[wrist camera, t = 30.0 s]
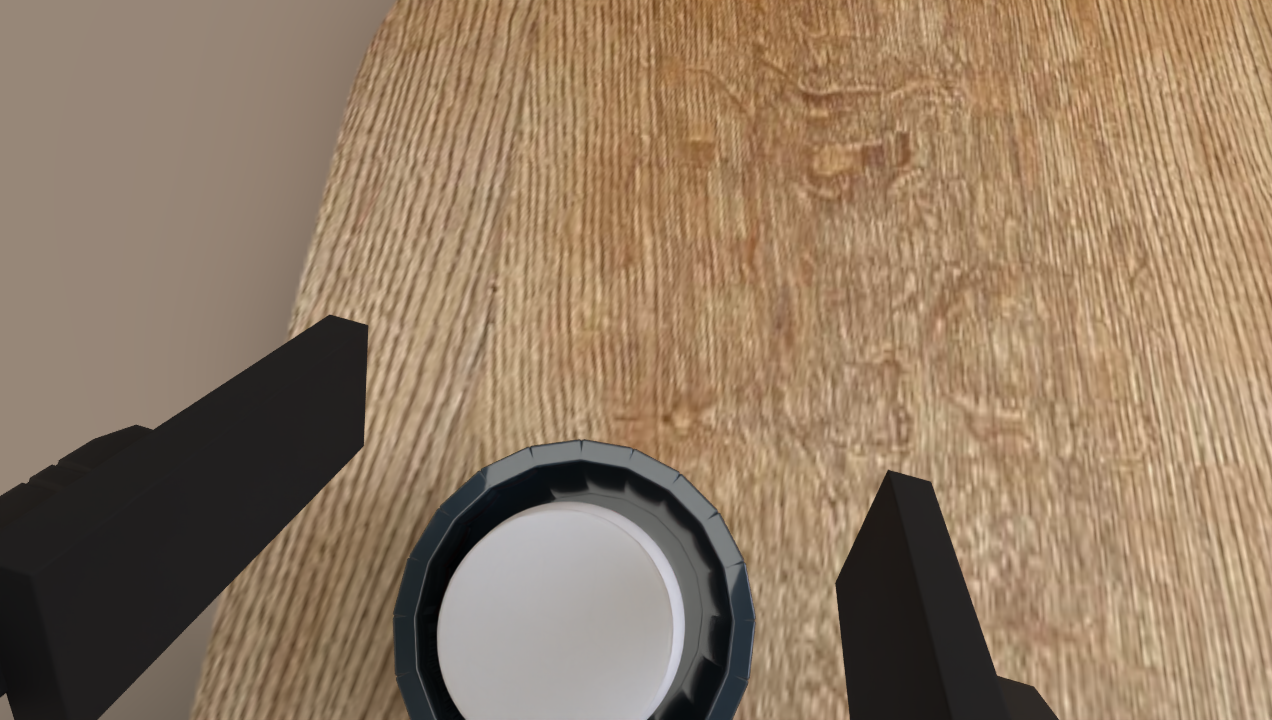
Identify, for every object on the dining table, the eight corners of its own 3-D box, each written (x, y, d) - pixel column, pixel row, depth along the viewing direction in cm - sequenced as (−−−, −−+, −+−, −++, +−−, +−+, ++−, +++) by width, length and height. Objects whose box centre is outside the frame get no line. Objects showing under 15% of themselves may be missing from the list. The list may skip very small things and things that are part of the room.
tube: (448, 498, 25) (386, 465, 18) (693, 464, 25) (718, 419, 19) (465, 778, 22) (400, 858, 16) (739, 731, 23) (788, 789, 16)
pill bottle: (683, 551, 24) (734, 529, 14) (638, 730, 22) (662, 838, 13) (522, 503, 24) (469, 451, 15) (465, 677, 22) (363, 744, 13)
